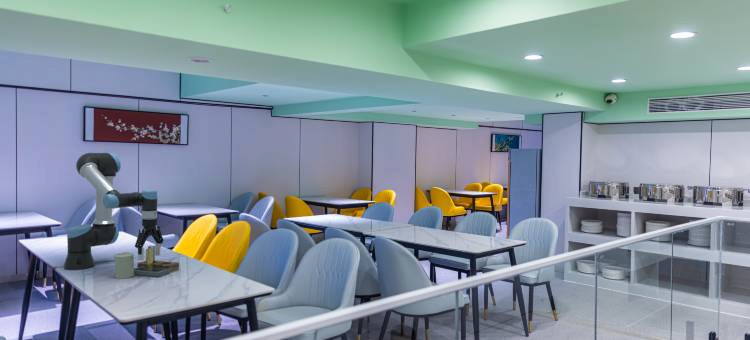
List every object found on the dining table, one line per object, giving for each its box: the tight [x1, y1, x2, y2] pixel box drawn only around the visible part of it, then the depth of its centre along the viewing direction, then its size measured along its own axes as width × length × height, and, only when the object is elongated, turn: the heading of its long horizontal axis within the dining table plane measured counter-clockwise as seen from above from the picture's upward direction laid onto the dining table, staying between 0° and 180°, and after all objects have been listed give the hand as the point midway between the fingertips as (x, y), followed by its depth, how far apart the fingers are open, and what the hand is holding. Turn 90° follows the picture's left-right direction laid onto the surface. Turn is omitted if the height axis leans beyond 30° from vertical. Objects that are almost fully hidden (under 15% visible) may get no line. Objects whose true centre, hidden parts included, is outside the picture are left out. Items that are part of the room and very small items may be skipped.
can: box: [114, 252, 136, 279], centre depth 277 cm, size 9×9×12 cm
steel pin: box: [147, 245, 156, 263], centre depth 294 cm, size 4×4×13 cm
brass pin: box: [145, 248, 153, 272], centre depth 283 cm, size 4×4×13 cm
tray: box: [134, 266, 170, 278], centre depth 283 cm, size 18×9×2 cm, turn 76°
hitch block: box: [137, 260, 180, 274], centre depth 293 cm, size 20×9×4 cm, turn 76°
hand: (149, 257), depth 283 cm, fingers open, 13 cm apart
